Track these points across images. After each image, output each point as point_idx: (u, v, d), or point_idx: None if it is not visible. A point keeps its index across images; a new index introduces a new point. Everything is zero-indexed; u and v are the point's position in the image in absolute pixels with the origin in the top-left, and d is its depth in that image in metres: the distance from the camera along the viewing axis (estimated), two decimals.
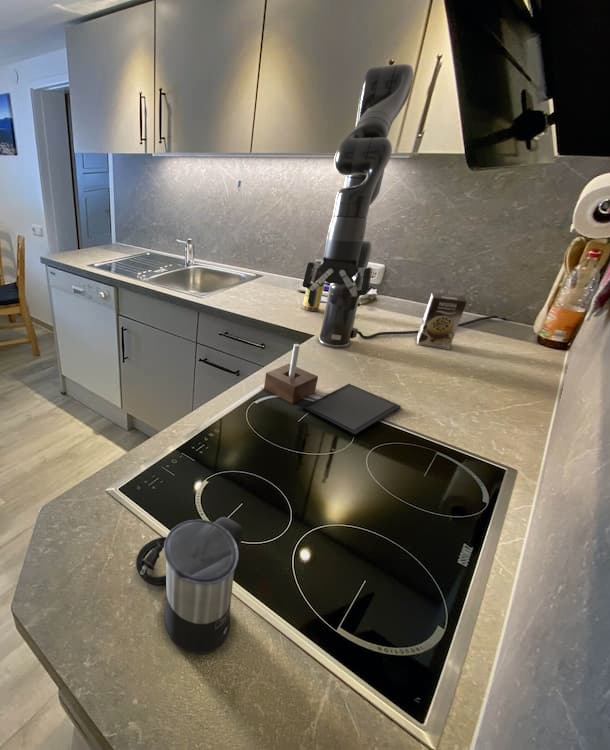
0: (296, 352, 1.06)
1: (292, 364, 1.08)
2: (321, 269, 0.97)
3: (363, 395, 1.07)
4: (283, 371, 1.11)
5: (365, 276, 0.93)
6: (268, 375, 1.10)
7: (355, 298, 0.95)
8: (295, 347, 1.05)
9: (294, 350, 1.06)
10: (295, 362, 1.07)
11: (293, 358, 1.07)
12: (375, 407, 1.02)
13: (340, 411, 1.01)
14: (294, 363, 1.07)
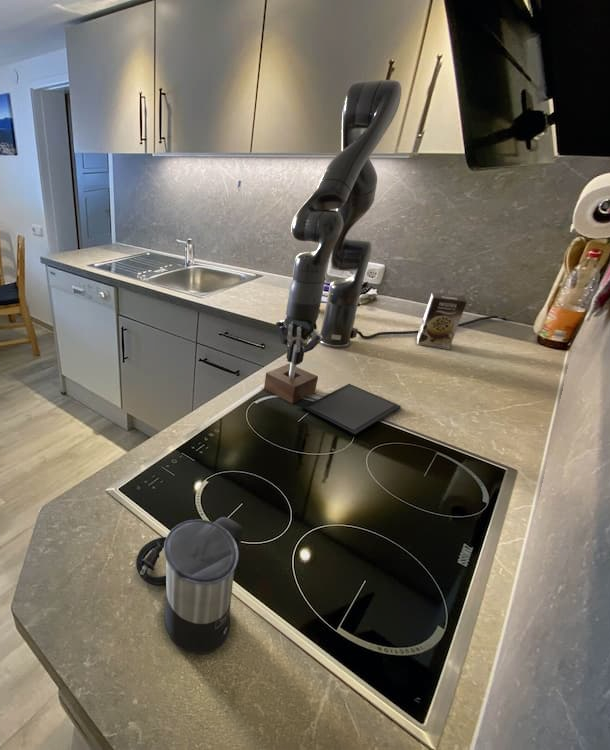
0: None
1: (292, 364, 1.08)
2: (285, 322, 1.05)
3: (363, 395, 1.07)
4: (283, 371, 1.11)
5: (312, 340, 1.00)
6: (268, 375, 1.10)
7: (299, 353, 1.05)
8: (295, 347, 1.05)
9: (294, 350, 1.06)
10: None
11: (293, 358, 1.07)
12: (375, 407, 1.02)
13: (340, 411, 1.01)
14: None
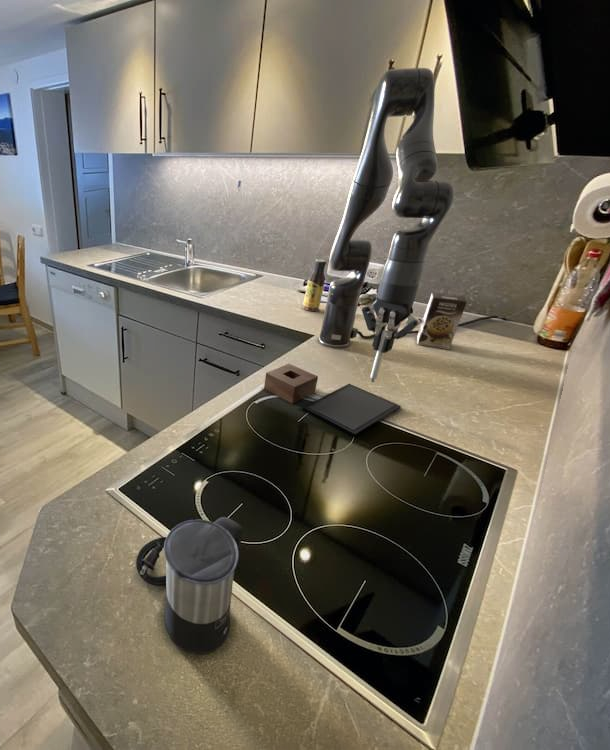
0: None
1: (379, 352, 1.00)
2: (374, 307, 0.97)
3: (363, 395, 1.07)
4: (283, 371, 1.11)
5: (408, 326, 0.92)
6: (268, 375, 1.10)
7: (390, 340, 0.97)
8: (384, 334, 0.98)
9: (383, 337, 0.98)
10: None
11: (381, 346, 0.99)
12: (375, 407, 1.02)
13: (340, 411, 1.01)
14: None
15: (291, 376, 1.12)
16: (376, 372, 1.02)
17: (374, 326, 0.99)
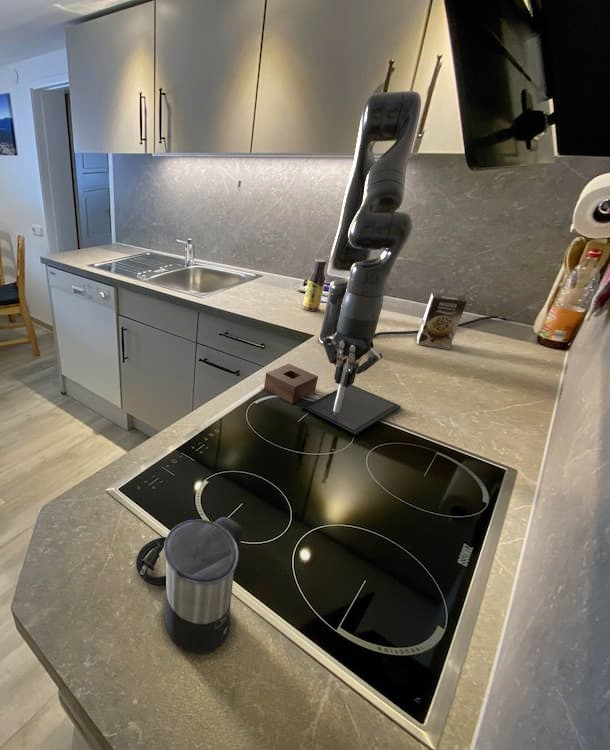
0: None
1: (341, 386, 0.95)
2: (335, 339, 0.93)
3: (363, 395, 1.07)
4: (283, 371, 1.11)
5: (368, 361, 0.87)
6: (268, 375, 1.10)
7: (351, 374, 0.92)
8: (345, 367, 0.93)
9: (344, 371, 0.93)
10: None
11: (342, 379, 0.94)
12: (375, 407, 1.02)
13: (340, 411, 1.01)
14: None
15: (291, 376, 1.12)
16: (339, 406, 0.98)
17: (335, 358, 0.95)
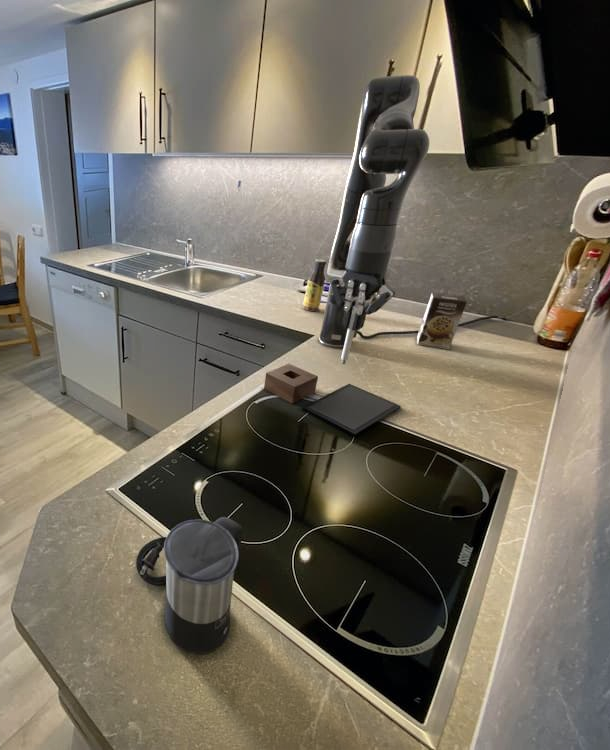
0: None
1: (350, 331, 0.90)
2: (343, 279, 0.87)
3: (363, 395, 1.07)
4: (283, 371, 1.11)
5: (380, 299, 0.82)
6: (268, 375, 1.10)
7: (361, 316, 0.87)
8: (355, 309, 0.87)
9: (353, 313, 0.88)
10: None
11: (351, 323, 0.89)
12: (375, 407, 1.02)
13: (340, 411, 1.01)
14: None
15: (291, 376, 1.12)
16: (347, 353, 0.92)
17: (344, 301, 0.89)
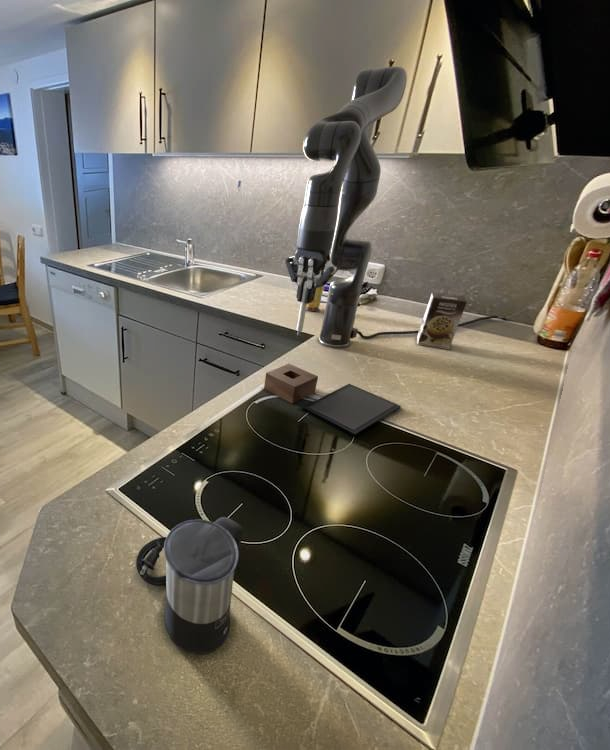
0: None
1: (302, 304, 1.00)
2: (295, 257, 0.97)
3: (363, 395, 1.07)
4: (283, 371, 1.11)
5: (325, 273, 0.92)
6: (268, 375, 1.10)
7: (311, 290, 0.97)
8: (306, 284, 0.97)
9: (305, 287, 0.98)
10: None
11: (303, 297, 0.99)
12: (375, 407, 1.02)
13: (340, 411, 1.01)
14: None
15: (291, 376, 1.12)
16: (301, 324, 1.02)
17: (297, 277, 0.99)
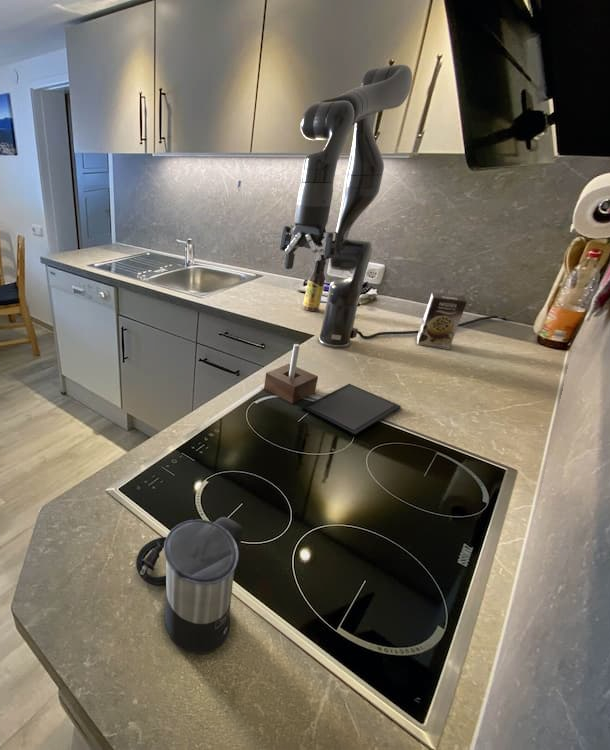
0: (296, 352, 1.06)
1: (292, 364, 1.08)
2: (293, 233, 1.03)
3: (363, 395, 1.07)
4: (283, 371, 1.11)
5: (327, 240, 0.96)
6: (268, 375, 1.10)
7: (320, 262, 0.99)
8: (295, 347, 1.05)
9: (294, 350, 1.06)
10: (295, 362, 1.07)
11: (293, 358, 1.07)
12: (375, 407, 1.02)
13: (340, 411, 1.01)
14: (294, 363, 1.07)
15: None
16: None
17: (285, 247, 1.07)
